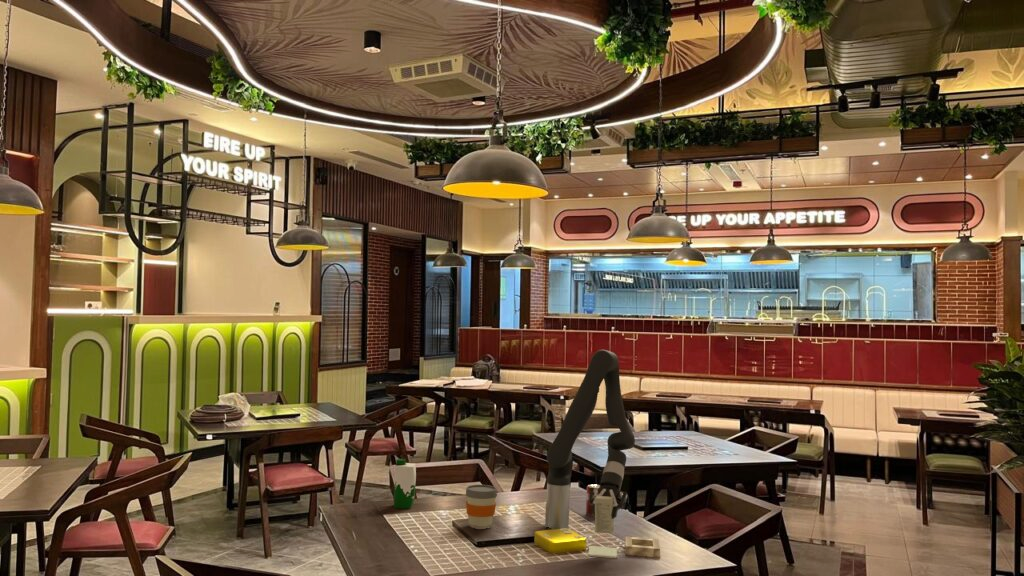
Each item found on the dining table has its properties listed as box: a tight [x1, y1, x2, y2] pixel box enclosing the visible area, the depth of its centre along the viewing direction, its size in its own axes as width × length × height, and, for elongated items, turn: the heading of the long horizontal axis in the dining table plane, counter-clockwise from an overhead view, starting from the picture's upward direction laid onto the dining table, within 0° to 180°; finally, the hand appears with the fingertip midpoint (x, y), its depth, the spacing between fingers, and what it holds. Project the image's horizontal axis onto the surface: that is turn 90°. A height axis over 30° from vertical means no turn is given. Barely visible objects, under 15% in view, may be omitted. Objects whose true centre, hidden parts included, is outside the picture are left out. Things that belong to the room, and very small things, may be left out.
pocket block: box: [624, 536, 661, 559], centre depth 258 cm, size 12×12×3 cm
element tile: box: [534, 527, 587, 554], centre depth 261 cm, size 15×15×5 cm
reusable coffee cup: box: [465, 484, 498, 526], centre depth 283 cm, size 13×13×15 cm
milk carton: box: [393, 458, 417, 510], centre depth 310 cm, size 9×9×20 cm
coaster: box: [587, 545, 618, 559], centre depth 254 cm, size 10×10×1 cm
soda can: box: [585, 484, 600, 517], centre depth 308 cm, size 7×7×12 cm
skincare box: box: [594, 496, 615, 534], centre depth 255 cm, size 6×4×12 cm
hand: (603, 516), depth 254 cm, fingers closed on skincare box, 6 cm apart
